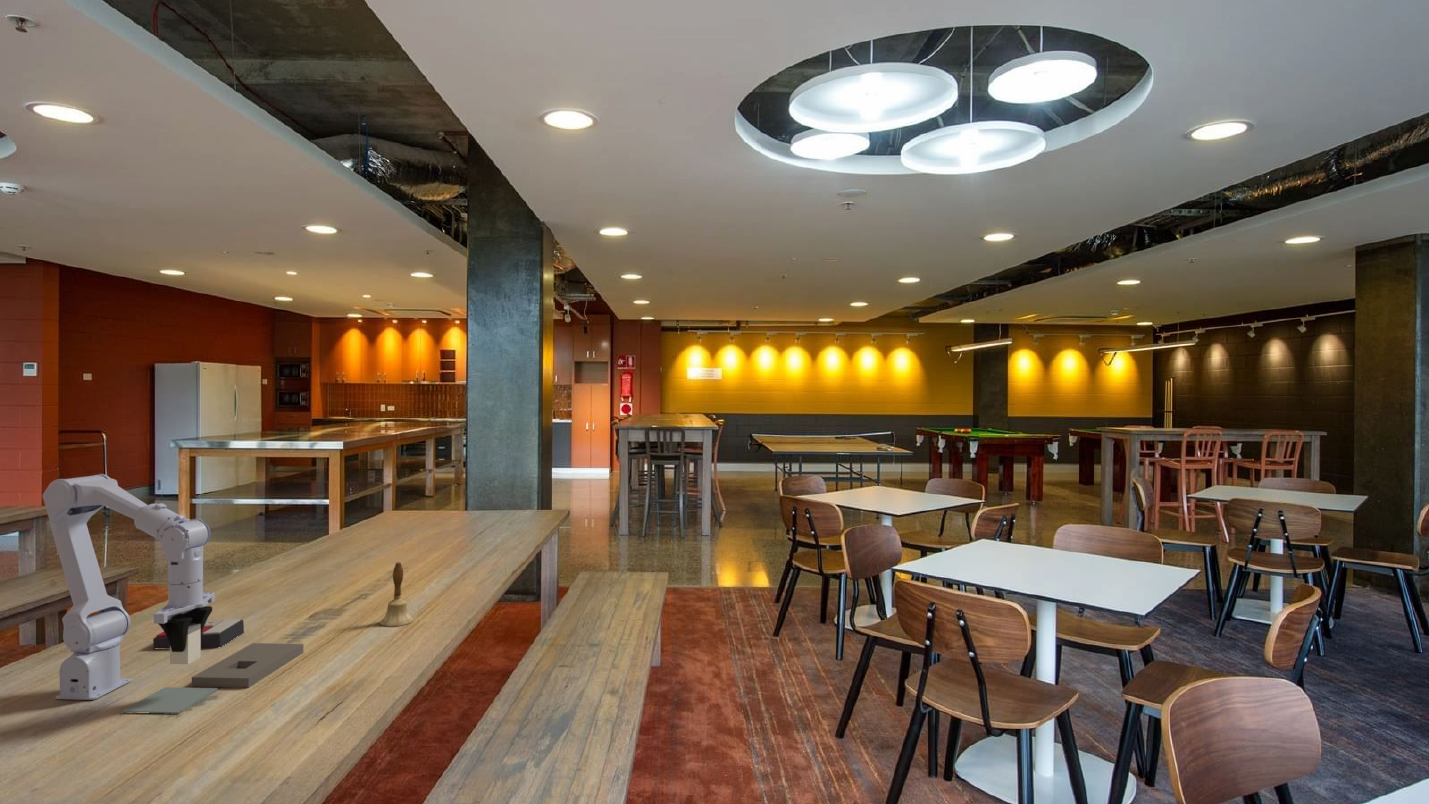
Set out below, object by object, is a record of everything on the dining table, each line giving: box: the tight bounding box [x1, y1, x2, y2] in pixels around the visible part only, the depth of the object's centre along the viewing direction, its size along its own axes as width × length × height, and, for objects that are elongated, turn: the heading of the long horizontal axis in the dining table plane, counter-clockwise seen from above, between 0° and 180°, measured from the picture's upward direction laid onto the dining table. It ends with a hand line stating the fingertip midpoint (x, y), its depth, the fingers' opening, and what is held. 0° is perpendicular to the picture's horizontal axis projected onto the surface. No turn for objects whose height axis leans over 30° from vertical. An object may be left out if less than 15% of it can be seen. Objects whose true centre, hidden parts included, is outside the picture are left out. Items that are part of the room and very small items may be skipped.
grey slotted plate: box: [191, 642, 304, 689], centre depth 162 cm, size 20×12×2 cm, turn 0°
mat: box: [120, 686, 219, 715], centre depth 145 cm, size 11×11×1 cm
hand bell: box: [379, 561, 414, 628], centre depth 195 cm, size 8×8×16 cm
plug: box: [169, 624, 202, 665], centre depth 147 cm, size 4×4×7 cm
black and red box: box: [152, 618, 245, 649], centre depth 178 cm, size 11×4×15 cm
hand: (185, 647), depth 147 cm, fingers closed on plug, 4 cm apart
